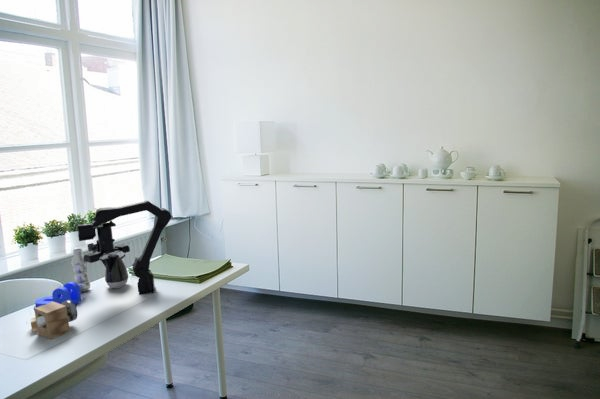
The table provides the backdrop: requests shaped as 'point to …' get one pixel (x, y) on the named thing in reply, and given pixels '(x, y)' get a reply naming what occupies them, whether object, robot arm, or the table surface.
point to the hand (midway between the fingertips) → (109, 272)
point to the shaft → (70, 312)
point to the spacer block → (34, 324)
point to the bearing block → (53, 320)
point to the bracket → (66, 295)
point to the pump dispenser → (117, 274)
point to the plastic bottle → (80, 270)
